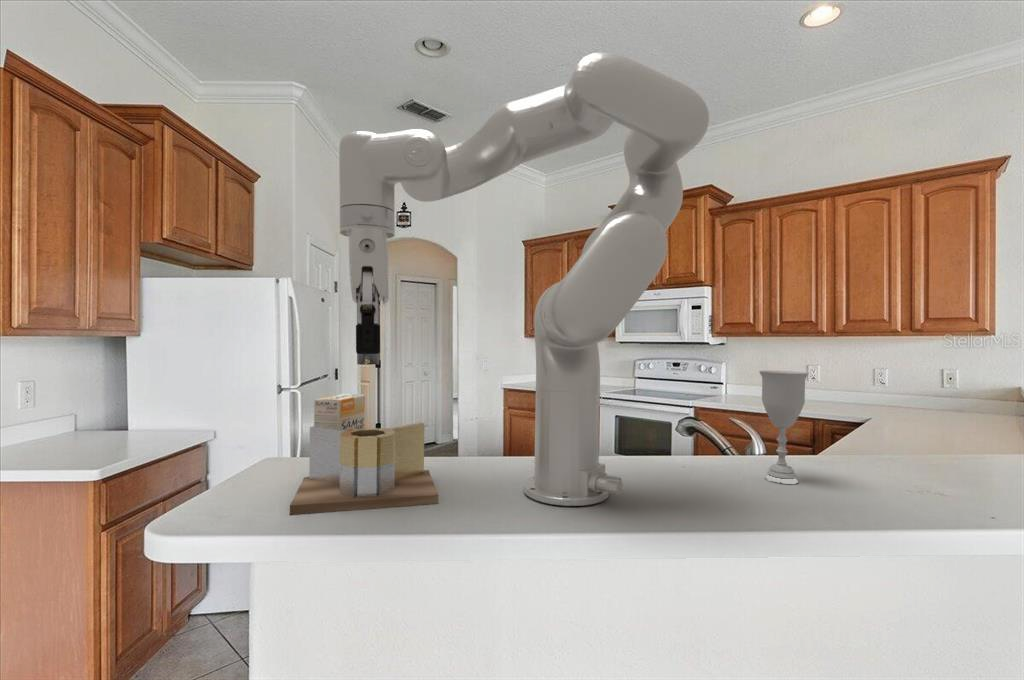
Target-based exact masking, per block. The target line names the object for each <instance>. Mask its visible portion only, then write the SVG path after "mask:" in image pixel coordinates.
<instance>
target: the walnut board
mask: <svg viewBox="0 0 1024 680" xmlns="http://www.w3.org/2000/svg"><path fill="white" fill-rule="evenodd" d="M438 503H439V494H438V492H437V488H436V485H435V483H434V480H433V478H432V475H431V473H430V469H424V473H421V474H418V475H415V476H411V477H408V478H405V479H402V480H398V481H395V482H394V490H393V491H391V492H388V493H385V494H383V495H376V496H372V497H358V498H357V496H356V497H350V496H346V495H342V494H341V493H340V485H337V484H331V483H326V482H320V481H315V480H309V476H304V477H303V479H302V480H301V483H300V485H299V487H298V488H297V491H296V492H295V495H294V496H293V499H292V501H291V503H290V504H289V515H290V516H292V515H302V514H303V515H305V514H315V513H316V514H317V513H329V512H343V511H345V512H346V511H356V510H370V509H384V508H395V507H398V508H399V507H407V506H408V507H409V506H410V507H411V506H419V505H420V506H423V505H434V504H438Z"/></svg>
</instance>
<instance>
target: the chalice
mask: <svg viewBox="0 0 1024 680" xmlns="http://www.w3.org/2000/svg"><path fill="white" fill-rule="evenodd" d="M758 372H759V374H760V376H761V379H762V380H761V401H762V404H763V406H764V410H765V412H766V414H767V416H768V418H769V420H770V422H771V424H772V426H774V427H776V428H777V429H778V436H777V438H776V441H777V444H778V446H777V448H776V449H775V452H776V453H777V457H778V458H777V459H778V460H777V462H775V463H774V464H772V465H771V466H769V468H768V470H767V472H766V475H767V474H768V475H769V476H772V477H775V478H780V479H794V478H797V475H796V473H795V470H794V469H793V468H792V467H791V466H790V465H788V463H787V462H786V456H787V453H789V451H788V449H787V448H786V444H787V442H788V441H789V440H788V439H787V434H786V432H787V429H789V428H793V426H794V425H795V423H796V421H797V420H798V418H799V416H800V415H801V412H802V411H803V408H804V406H805V399H806V379H807V377H808V376H809V374H810V373H809V372H805V371H795V370H793V371H792V370H791V371H790V370H758Z"/></svg>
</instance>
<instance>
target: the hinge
mask: <svg viewBox="0 0 1024 680" xmlns="http://www.w3.org/2000/svg"><path fill="white" fill-rule="evenodd" d="M308 465H309V466H308V467H309V472H308V473H309V475H308V477H309V480H315V481H320V482H326V483H331V484H337V485H340V493H341V494H342V495H346V496H350V497H356V496H357V498H358V497H372V496H376V495H383V494H385V493H388V492H391V491H393V490H394V482H395V481H398V480H402V479H405V478H408V477H411V476H415V475H418V474H421V473H424V470H425V422H415V423H410V424H404V425H398V426H394V427H388V428H383V427H382V428H381V427H379V428H378V427H366V428H365V427H364V428H362V429H354V430H346V429H337V428H329V427H321V426H314V425H313V426H309V464H308Z"/></svg>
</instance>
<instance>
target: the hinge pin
mask: <svg viewBox="0 0 1024 680" xmlns="http://www.w3.org/2000/svg"><path fill="white" fill-rule="evenodd" d="M356 294H357V290H356ZM378 296H380V295H379V293H378ZM360 301H363V300H361V297H360ZM372 302H375V300H372ZM379 302H380V301H379V298H378V325H380V323H379V322H380V318H379V317H380V308H379V307H380V306H379V304H380V303H379ZM356 325H358V322H357V321H356ZM356 365H362V366H363V365H367V366H368V365H380V353H378V354H357V353H356Z"/></svg>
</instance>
